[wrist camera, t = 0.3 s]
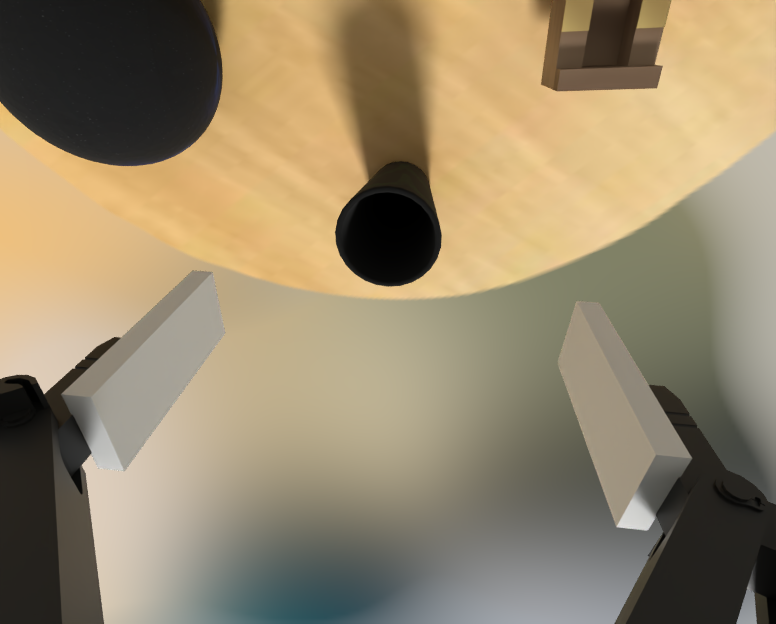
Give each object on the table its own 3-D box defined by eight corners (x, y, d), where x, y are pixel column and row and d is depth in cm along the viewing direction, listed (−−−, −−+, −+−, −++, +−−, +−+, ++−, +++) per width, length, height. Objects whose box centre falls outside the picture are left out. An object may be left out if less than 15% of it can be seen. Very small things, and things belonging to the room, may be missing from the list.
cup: (454, 209, 42) (458, 263, 32) (384, 241, 44) (368, 301, 34) (419, 133, 38) (411, 166, 28) (346, 172, 41) (315, 216, 31)
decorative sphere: (220, -78, 32) (78, -156, 20) (270, 136, 40) (191, 181, 27) (42, -47, 34) (-191, -98, 22) (122, 151, 42) (-15, 198, 29)
